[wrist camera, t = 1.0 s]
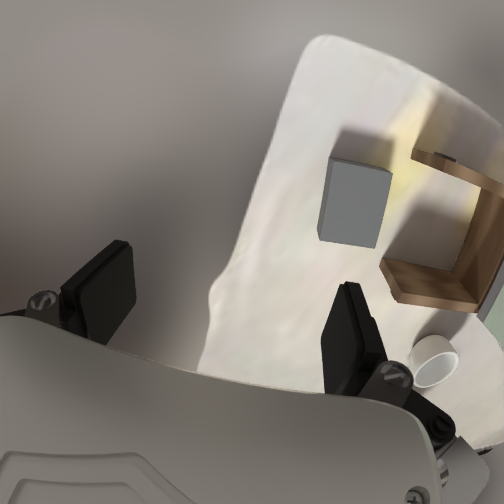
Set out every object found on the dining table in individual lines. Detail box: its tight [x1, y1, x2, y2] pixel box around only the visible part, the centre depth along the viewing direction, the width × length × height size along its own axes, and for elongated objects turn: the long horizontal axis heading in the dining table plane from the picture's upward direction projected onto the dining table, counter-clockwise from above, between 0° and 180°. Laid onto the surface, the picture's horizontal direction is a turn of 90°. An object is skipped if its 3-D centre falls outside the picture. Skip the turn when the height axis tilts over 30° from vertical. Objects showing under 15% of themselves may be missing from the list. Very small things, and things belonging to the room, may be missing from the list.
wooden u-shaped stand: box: [379, 149, 504, 313], centre depth 25 cm, size 12×15×8 cm
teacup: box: [408, 335, 459, 388], centre depth 35 cm, size 10×8×5 cm
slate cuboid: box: [317, 157, 393, 249], centre depth 28 cm, size 6×8×4 cm
